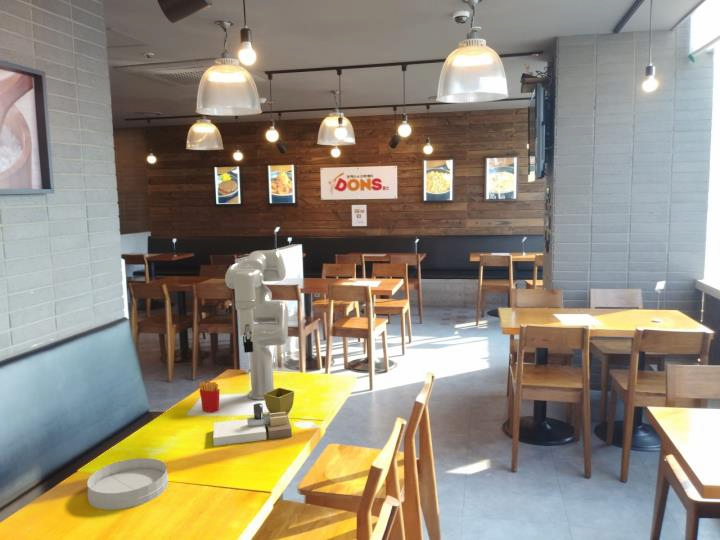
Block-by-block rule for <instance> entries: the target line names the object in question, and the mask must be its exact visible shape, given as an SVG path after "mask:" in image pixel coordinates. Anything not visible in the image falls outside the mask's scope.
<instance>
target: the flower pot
mask: <svg viewBox="0 0 720 540" xmlns="http://www.w3.org/2000/svg"><path fill="white" fill-rule="evenodd" d="M294 397H295V391H294V390H291V389H286V388H283V387H277V388H274V390H272V391H269V392H267V393H264V399H263V400H264V403H265V407H266V409H267V410H268V412H269V414H270V413H278V412H286V415H288V414H289V413H290V412H291V411H292V408H293V405H294V399H295V398H294Z"/></svg>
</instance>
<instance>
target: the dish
mask: <svg viewBox="0 0 720 540" xmlns="http://www.w3.org/2000/svg"><path fill="white" fill-rule="evenodd" d="M86 483H87V484H86V485H87V492H86V493H87V499H88V501H87V502H88V503H89V504H90V505H91V506H92V507H93V508H97V509H102V510H108V511H110V510H111V511H112V510H114V511H115V510H124V509H129V508H130V509H131V508H134V507H137V506H140V505H143V504H146V503H148V502H150V501H152V500H154V499H155V498H157V497H159V496H160V495H162V494H163V493H164V492H165V491H166V489H167V488H168V485H169V476H168V471H167V466H166V463H164V462H163V461H161V460H159V459H156V458H148V457H142V458H141V457H139V458H129V459H125V460H120V461H116V462H113V463H110V464H107V465H106V466H104V467H101V468H100V469H98V470H97V471H95V472H94V473H93V474H91V476H89V478H88V480H87V482H86Z"/></svg>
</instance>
